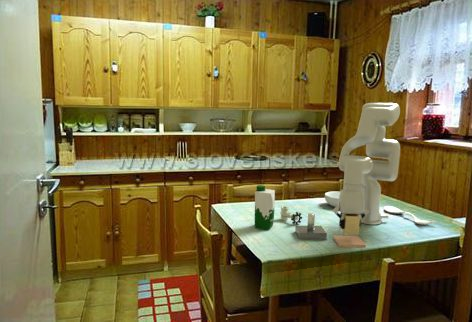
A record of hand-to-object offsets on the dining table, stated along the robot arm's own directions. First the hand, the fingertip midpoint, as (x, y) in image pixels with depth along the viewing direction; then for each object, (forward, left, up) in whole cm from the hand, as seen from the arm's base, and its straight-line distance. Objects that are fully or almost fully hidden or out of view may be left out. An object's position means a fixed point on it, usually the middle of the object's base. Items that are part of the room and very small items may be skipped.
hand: (349, 227), depth 164 cm
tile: (0, 0, -7) cm, 7 cm away
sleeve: (0, 0, -2) cm, 2 cm away
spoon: (-43, -37, -7) cm, 57 cm away
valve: (+21, -28, -7) cm, 36 cm away
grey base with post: (+15, -8, -7) cm, 18 cm away
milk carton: (+35, -19, -7) cm, 40 cm away
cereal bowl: (-13, -58, -7) cm, 60 cm away
